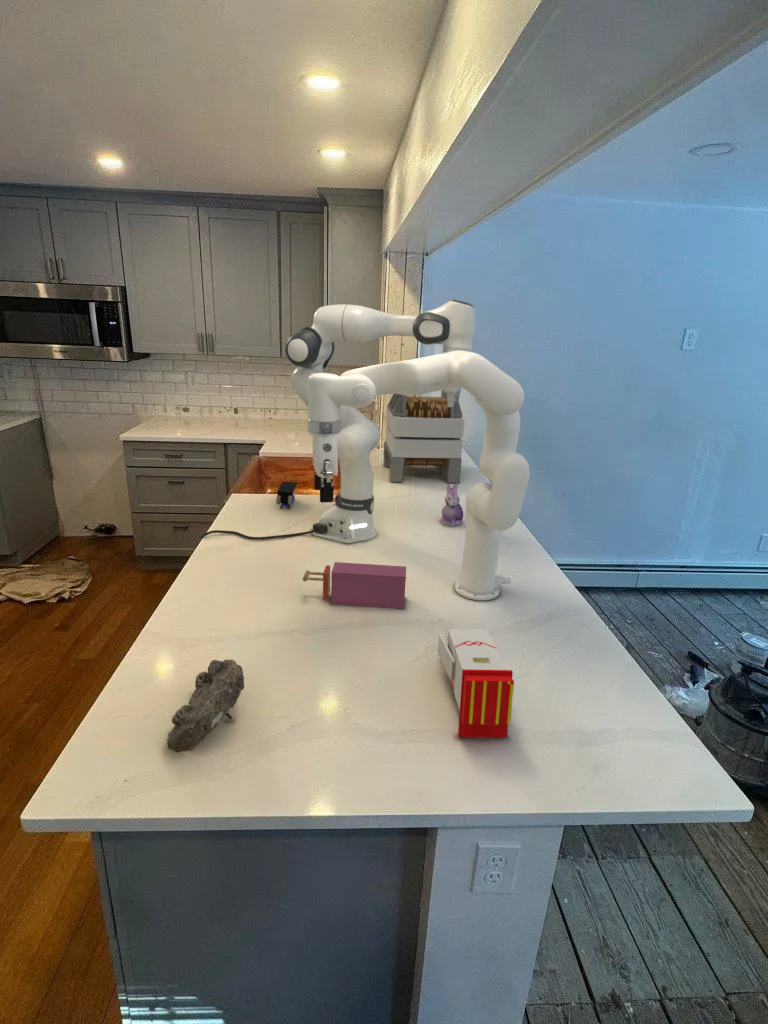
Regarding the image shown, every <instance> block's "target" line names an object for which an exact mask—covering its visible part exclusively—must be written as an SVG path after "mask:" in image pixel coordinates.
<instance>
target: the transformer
mask: <svg viewBox="0 0 768 1024" xmlns="http://www.w3.org/2000/svg"><path fill="white" fill-rule="evenodd" d="M440 393H441V394H440V396H419V395H400V394H392V395H391V398H390V400H389V402H388V404H387V405H386V413H385V414H386V415H385V423H386V428H385V438H384V442H383V466H384V467H388V468H389V475H388V476H389V477H388V478H389V480H390V482H391V483H402V482H403V475H404V469H405V466H406V467H407V466H411V467H412V466H413V467H415V466H416V467H417V466H418V467H436V468H437V470H438V469H439V473H440V474H441V475H443V478H444V479H445V481H446V482H447V484H456V483H457V484H459V483H461V472H462V461H463V460H462V453H463V442H464V441H463V440H462V439H463V438H464V431H465V430H464V429H465V419H464V418H463V411H462V408H461V405H460V401H459V402H457V403H454V406H453V407H448V406H447V404H448V399H447V393H445V392H444V391H443V390H441V392H440Z"/></svg>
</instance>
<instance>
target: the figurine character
mask: <svg viewBox="0 0 768 1024" xmlns="http://www.w3.org/2000/svg"><path fill="white" fill-rule="evenodd" d="M297 484H298V482H296V481H295V482H294V481H284V480H283V481H281V483H280V485H279V487H278V489H277V494H276V498H275V499H276V500H275V503H276V505H279V508H280V509H283V506H285V507H287V509H290V508H291V506H292V505H293V503H294V502H295V501H296V497H295V496H296V492H295V489H296V488H297Z"/></svg>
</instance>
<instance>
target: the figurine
mask: <svg viewBox="0 0 768 1024" xmlns="http://www.w3.org/2000/svg"><path fill="white" fill-rule="evenodd" d="M445 487H446V495H445V497H444V502H445V505H444V506H443V507H442V510H441V519H440V522H441V523H442V524H443V525H444V526H447V527H454V526H459V525H461V524H462V523H463V519H464V511H463V508H462V505H461V504H460V501H461V499H460V496H459V494H458V489H459V483H454V485H453V487H451V485H450V483H447V484H446V486H445Z"/></svg>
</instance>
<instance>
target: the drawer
mask: <svg viewBox="0 0 768 1024" xmlns="http://www.w3.org/2000/svg"><path fill="white" fill-rule="evenodd" d="M311 576H322V577H311ZM307 581H316V582H318V581H319V582H322V600H323V601H324V600H325V601H327V600H328V598H329V596H330V594H331V565H329V564H326V565H325V567H324V570H323V572H318V571H310V570H309V569H308V570H305V571H304V573H303V576H302V582H307Z"/></svg>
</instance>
